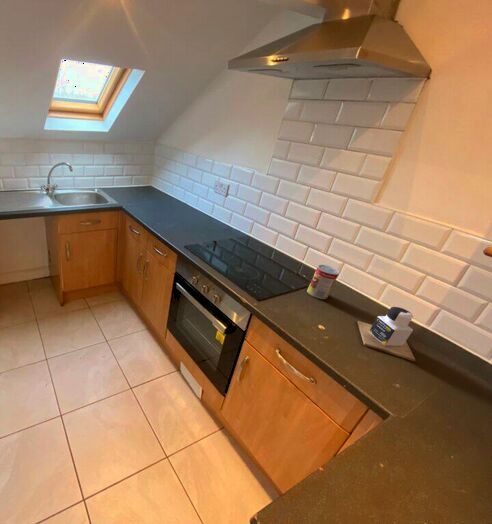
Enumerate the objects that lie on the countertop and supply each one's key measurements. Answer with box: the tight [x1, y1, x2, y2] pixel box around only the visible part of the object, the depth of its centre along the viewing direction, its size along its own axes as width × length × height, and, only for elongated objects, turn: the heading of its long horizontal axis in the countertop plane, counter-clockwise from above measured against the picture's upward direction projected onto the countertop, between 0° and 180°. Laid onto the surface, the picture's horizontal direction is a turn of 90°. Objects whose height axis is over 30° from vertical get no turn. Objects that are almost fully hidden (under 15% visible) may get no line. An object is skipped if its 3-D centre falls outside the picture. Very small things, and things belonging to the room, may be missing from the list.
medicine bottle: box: [369, 306, 414, 346], centre depth 100 cm, size 7×7×12 cm
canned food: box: [306, 264, 340, 300], centre depth 125 cm, size 8×8×12 cm
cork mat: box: [357, 320, 416, 362], centre depth 103 cm, size 14×14×1 cm
